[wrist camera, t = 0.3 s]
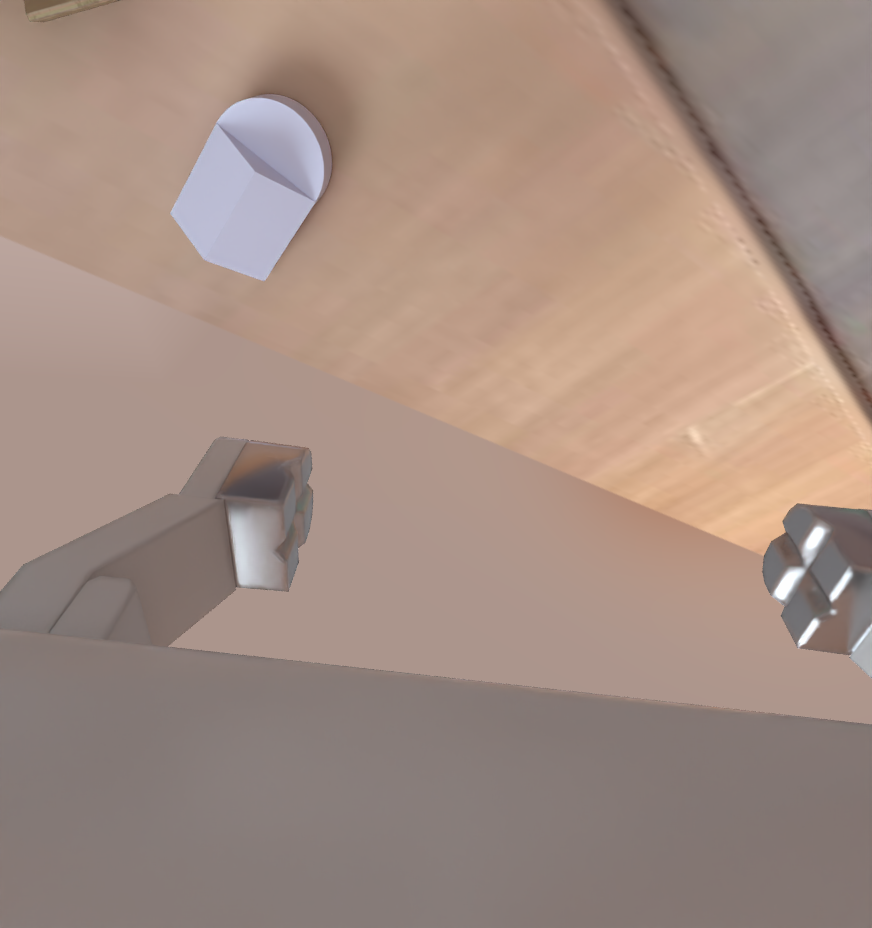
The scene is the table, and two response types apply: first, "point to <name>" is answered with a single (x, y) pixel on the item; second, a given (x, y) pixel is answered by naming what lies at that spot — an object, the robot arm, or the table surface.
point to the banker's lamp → (58, 8)
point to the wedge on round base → (254, 183)
